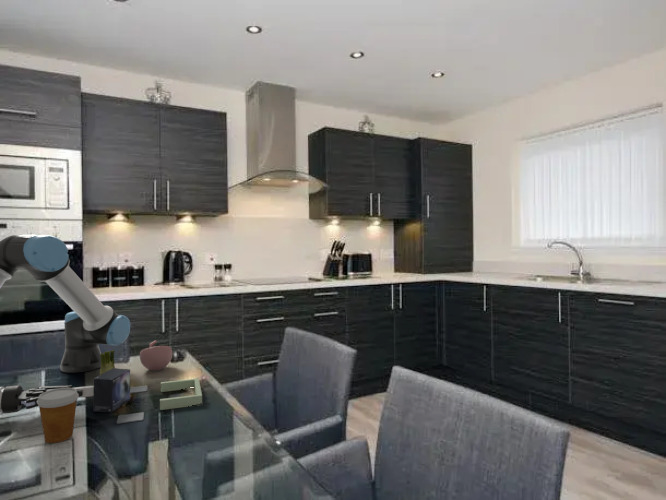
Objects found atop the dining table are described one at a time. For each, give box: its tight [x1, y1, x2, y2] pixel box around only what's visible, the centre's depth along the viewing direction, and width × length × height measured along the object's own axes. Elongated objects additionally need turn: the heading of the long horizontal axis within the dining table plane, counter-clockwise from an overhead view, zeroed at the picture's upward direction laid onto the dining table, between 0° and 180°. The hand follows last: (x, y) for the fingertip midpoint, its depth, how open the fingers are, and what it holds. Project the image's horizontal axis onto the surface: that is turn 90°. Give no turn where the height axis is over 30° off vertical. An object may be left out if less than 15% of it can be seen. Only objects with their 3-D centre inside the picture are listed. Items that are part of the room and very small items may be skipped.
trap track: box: [116, 378, 203, 425], centre depth 144 cm, size 30×24×3 cm
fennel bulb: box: [99, 350, 116, 375], centre depth 158 cm, size 6×5×12 cm
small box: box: [93, 367, 131, 413], centre depth 138 cm, size 11×6×10 cm, turn 175°
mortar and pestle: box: [139, 340, 173, 371], centre depth 175 cm, size 12×12×12 cm
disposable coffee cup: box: [37, 387, 80, 444], centre depth 117 cm, size 10×10×12 cm
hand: (95, 390), depth 136 cm, fingers closed
